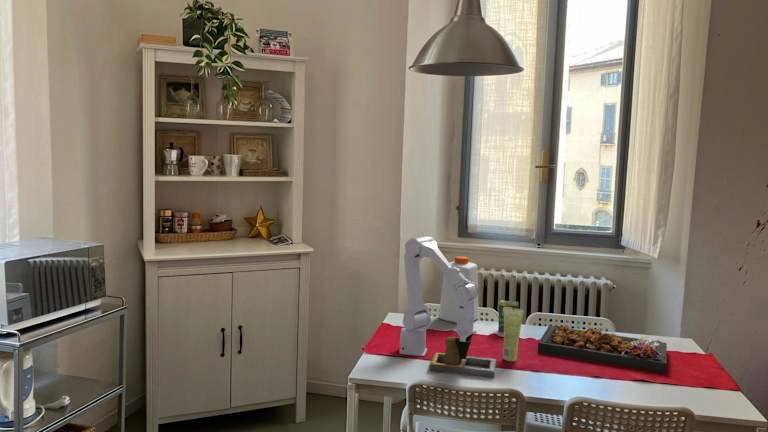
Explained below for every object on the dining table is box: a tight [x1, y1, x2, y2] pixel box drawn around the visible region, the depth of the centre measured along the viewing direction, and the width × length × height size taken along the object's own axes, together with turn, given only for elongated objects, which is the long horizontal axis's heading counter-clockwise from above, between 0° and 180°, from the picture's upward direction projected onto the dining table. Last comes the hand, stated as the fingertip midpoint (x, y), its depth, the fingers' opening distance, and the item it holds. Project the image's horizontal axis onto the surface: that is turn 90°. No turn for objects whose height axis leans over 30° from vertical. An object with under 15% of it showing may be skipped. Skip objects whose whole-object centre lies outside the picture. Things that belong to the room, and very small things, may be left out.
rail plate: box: [429, 352, 497, 379], centre depth 220 cm, size 22×12×3 cm, turn 77°
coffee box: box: [497, 299, 519, 333], centre depth 261 cm, size 8×3×13 cm, turn 70°
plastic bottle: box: [438, 255, 479, 324], centre depth 277 cm, size 15×15×28 cm
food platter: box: [537, 324, 668, 374], centre depth 240 cm, size 45×25×10 cm, turn 66°
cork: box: [442, 336, 461, 365], centre depth 220 cm, size 6×6×11 cm
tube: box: [502, 307, 525, 362], centre depth 229 cm, size 6×5×20 cm
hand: (463, 355), depth 219 cm, fingers open, 7 cm apart
